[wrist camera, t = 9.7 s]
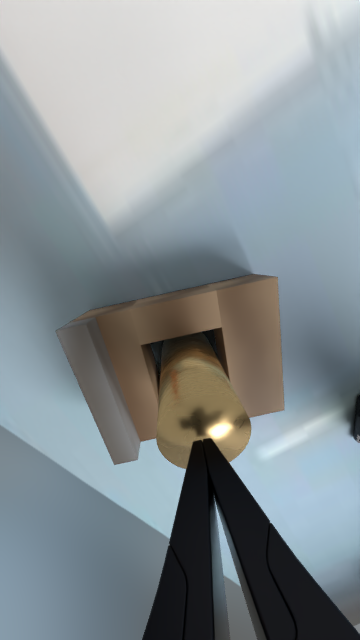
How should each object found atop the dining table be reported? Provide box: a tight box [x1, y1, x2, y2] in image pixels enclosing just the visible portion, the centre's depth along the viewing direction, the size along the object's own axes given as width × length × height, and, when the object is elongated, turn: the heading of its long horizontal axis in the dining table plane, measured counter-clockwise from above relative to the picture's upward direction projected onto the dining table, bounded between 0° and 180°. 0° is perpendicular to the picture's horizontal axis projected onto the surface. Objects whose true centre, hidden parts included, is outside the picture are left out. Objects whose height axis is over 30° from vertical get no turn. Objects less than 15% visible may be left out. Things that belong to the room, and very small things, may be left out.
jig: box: [56, 274, 284, 465], centre depth 15 cm, size 14×11×5 cm
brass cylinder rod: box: [156, 332, 251, 469], centre depth 13 cm, size 4×4×9 cm
